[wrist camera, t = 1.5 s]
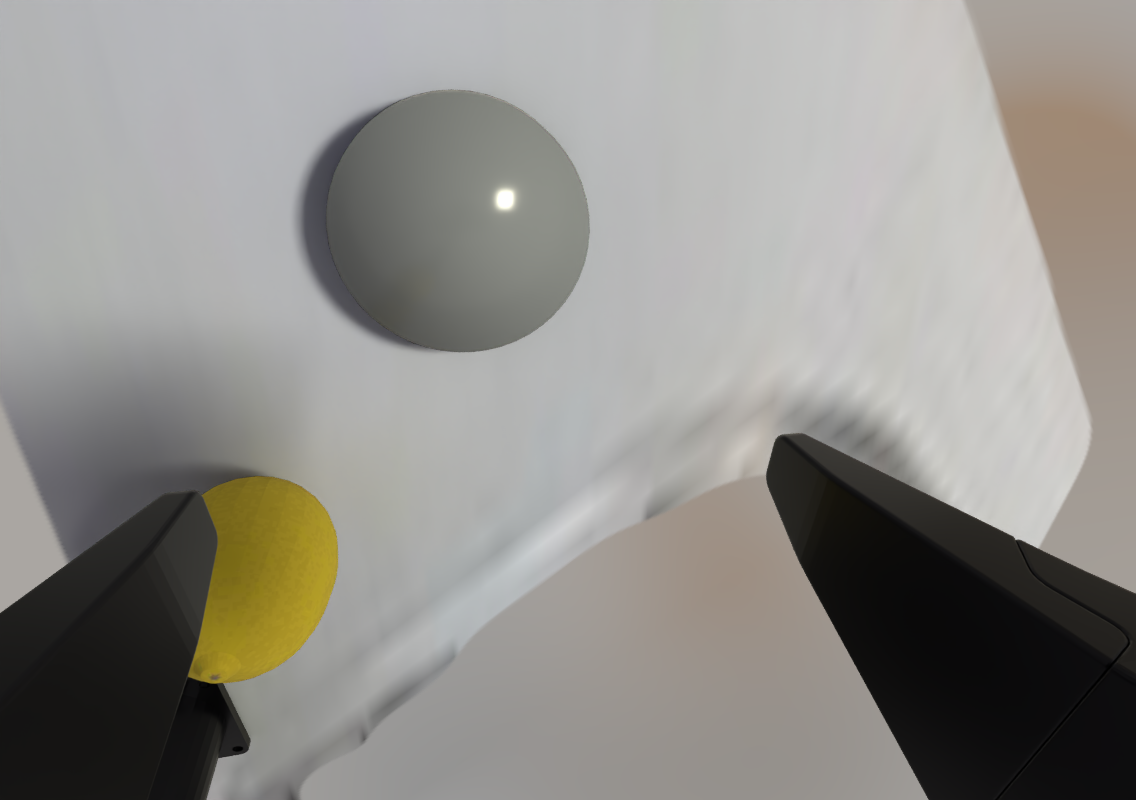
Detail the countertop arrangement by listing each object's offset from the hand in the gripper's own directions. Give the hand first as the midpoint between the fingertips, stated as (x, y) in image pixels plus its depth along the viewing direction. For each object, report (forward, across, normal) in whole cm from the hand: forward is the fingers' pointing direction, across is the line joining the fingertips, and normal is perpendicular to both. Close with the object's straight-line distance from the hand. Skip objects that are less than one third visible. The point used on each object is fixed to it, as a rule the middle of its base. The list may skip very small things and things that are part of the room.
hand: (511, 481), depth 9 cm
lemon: (+12, +8, +10) cm, 18 cm away
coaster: (+12, 0, 0) cm, 12 cm away
